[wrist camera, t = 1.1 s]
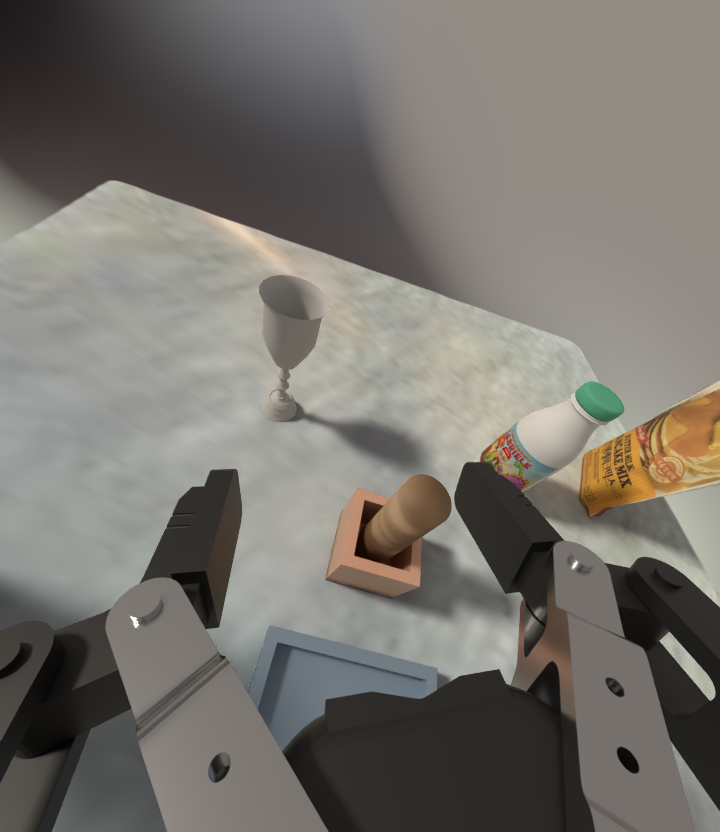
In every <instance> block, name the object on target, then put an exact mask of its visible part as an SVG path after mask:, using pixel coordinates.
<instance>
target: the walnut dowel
mask: <svg viewBox="0 0 720 832" xmlns="http://www.w3.org/2000/svg"><path fill="white" fill-rule="evenodd" d="M450 513H451V499H450V496H449V494H448V492H447V490H446V489H445V487H444V486H443V485H442V484H441V483H440V482H439V481H438V480H436V479H435V478H433V477H431V476H428V475H423V474H419V475H414V476H412V477H411V478H409V479H408V480H407V481H406V482H405V484H404V485H403V486H402V487H401V488H400V489H399V490H398V491H397V492H396V493H395V494H394V495H393V496H392V498H391V499H390V500H389V501H388V502H387V503H386V504H385V505H384V506H383V507H382V508H381V509H380V511H379V512H378V513H377V514H376V515H375V516H374V517H373V518H372V519H371V520H370V521H369V522H368V524H367V525H366V526H365V527H364V528H363V529H362V530H361V531H360V532H359V533H358V537H357V542H356V547H355V553H354V556H356V557H360V558H363V559H367V560H370V561H374V562H377V563H381V564H383V563H384V562H386V561H387V560H388V559H390V558H391V557H393V556H394V555H396V554H397V553H399V552H400V551H402V550H403V549H405V548H406V547H408V546H409V545H411V544H412V543H413V542H415V541H416V540H418V539H419V538H421V537H422V536H424V535H425V534H427V533H428V532H430V531H431V530H433V529H434V528H436V527H437V526H439V525H440V524H441V523H443V522H444V521H446V520H447V518H448V517H449V515H450Z"/></svg>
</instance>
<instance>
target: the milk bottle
mask: <svg viewBox="0 0 720 832" xmlns="http://www.w3.org/2000/svg"><path fill="white" fill-rule="evenodd" d="M623 412H624V406H623V403H622V402H621V400H620V399H619V398H618V397H617V395H616V394H615V393H613V392H612V391H611V390H610V389H608V388H607V387H605V386H604V385H602V384H599V383H597V382H588V383H585V384H584V385H583V386H581V387H580V388H579V389H578V390H577V391H576V392H574V393H573V394H572V395H571V398H570V399H569V400H567V401H565V402H563V403H560V404H558V405H554V406H551V407H547V408H543V409H540V410H537V411H534V412H532V413H530V414H529V415H527V416H525V417H524V418H522V419H521V420H520V421H519V422H517V423H516V424H515V425H514V426H512V427H511V428H510V429H509V430H508V431H506V432H505V433H504V434H503V435H502V436H500V437H499V438H498V439H497V440H496V441H495V442H493V443H492V444H491V445H490V446H489V447H488V448H486V449H485V450H484V451H483V452H482V453H481V454H479V455H478V456H477V457H476V458H475V459H474V461H473V462H488V463H490V464H491V466H492V467H493V468H494V469H495V470H496V471H497V473H498V474H499V475H502V476H504V477H505V478H507V479H508V480H510V481H511V482H512V483H514V484H515V485H516V486H517V487H518V488H519V489H520V491H521V492H522V493H523V492H524V491H526V490H528V489H529V488H531V487H533V486H534V485H536V484H538V483H539V482H541V481H543V480H544V479H546V478H548V477H549V476H551V475H553V474H554V473H556V472H557V471H559V470H561V469H562V468H564V467H565V466H567V465H568V464H569V463H571V462H572V461H573V460H574V459H575V458H576V457H577V456H578V455H579V454H580V453H581V451H582V450H583V448H584V446H585V444H586V442H587V441H588V439H589V437H590V436H591V434H592V433H593V432H594V431H595V429H596V428H597V427H599V426H600V425H606V424H607V423H608V422H609V421H612V420H614V419H615V418H617V417H618V416H620V415H621V414H622V413H623Z"/></svg>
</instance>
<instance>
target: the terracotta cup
mask: <svg viewBox="0 0 720 832" xmlns="http://www.w3.org/2000/svg"><path fill="white" fill-rule="evenodd" d="M389 500H390V498H387V497H384V496H380V495H377V494H374V493H371V492H368V491H365V490H361V489H358V488H357V489H356V491H355V492H354V494H353V495H352V496H351V498H350V499H349V501H348V502H347V504H346V505H345V507H344V508H343V510H342V511H341V515H340V519H339V523H338V527H337V532H336V536H335V540H334V544H333V549H332V553H331V557H330V561H329V566H328V570H327V574H326V580H329V581H333V582H336V583H340V584H343V585H347V586H351V587H354V588H358V589H361V590H365V591H369V592H372V593H376V594H379V595H383V596H386V597H390V598H393V597H396V596H398V595H401V594H403V593H406V592H408V591H411V590H413V589H416V588H418V587H420V574H421V554H422V537H421V538H419V539H418V540H416V541H415V542H413V543H412V544H411V545H409V546H408V547H406V548H405V549H403V550H402V551H400V552H399V553H397V554H396V555H394V556H393V557H391V558H390V559H388V560H387V561H386V562H384V563H383V564H381V563H377V562H374V561H370V560H367V559H363V558H360V557H356V556H354V553H355V547H356V542H357V537H358V533H359V532H360V531H361V530H362V529H363V528H364V527H365V526H366V525H367V524H368V522H369V521H370V520H371V519H372V518H373V517H374V516H375V515H376V514H377V513H378V512H379V511H380V509H381V508H382V507H383V506H384V505H385V504H386V503H387V502H388V501H389Z"/></svg>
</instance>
